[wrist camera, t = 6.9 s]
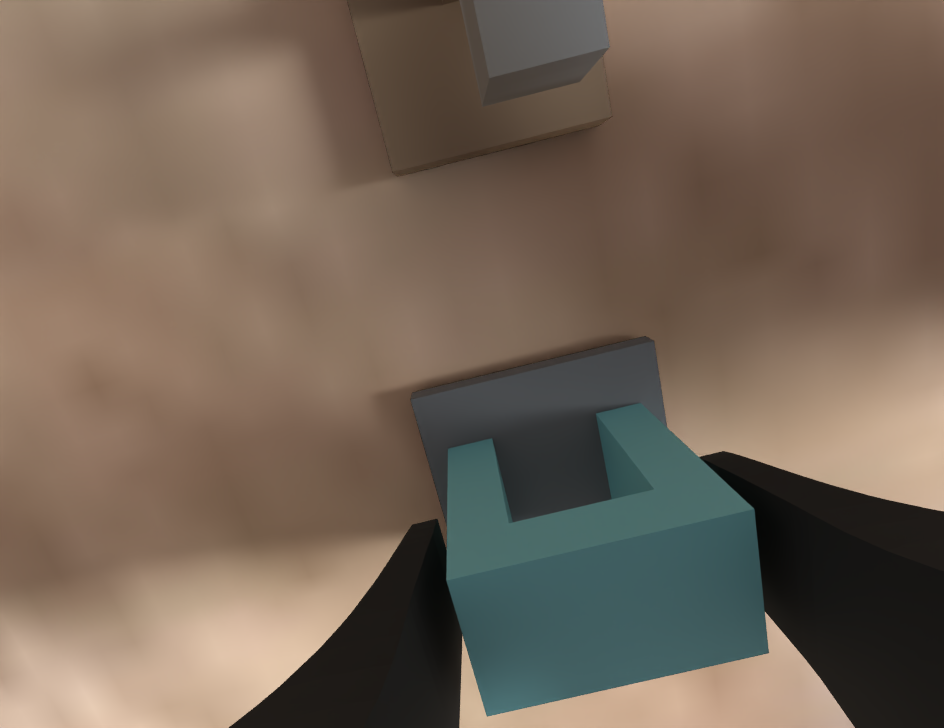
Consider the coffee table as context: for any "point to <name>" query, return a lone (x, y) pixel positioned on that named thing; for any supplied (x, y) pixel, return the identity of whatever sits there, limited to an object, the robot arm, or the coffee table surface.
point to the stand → (480, 74)
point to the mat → (541, 423)
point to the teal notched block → (603, 572)
